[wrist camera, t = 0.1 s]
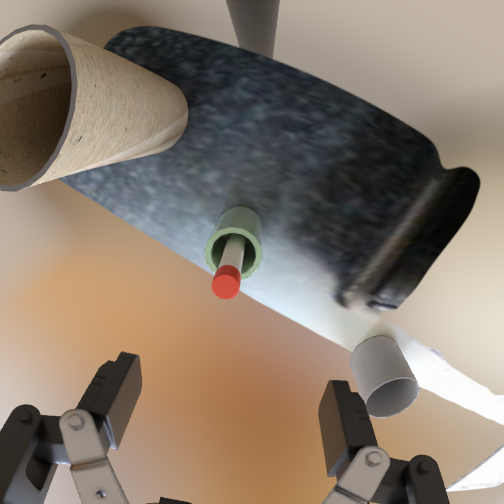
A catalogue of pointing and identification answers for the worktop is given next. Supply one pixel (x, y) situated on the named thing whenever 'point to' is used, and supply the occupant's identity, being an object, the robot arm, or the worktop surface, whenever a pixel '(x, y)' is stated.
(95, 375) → the robot arm
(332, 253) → the worktop surface
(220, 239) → the green pencil holder
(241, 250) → the marker
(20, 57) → the tube
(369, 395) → the cup
